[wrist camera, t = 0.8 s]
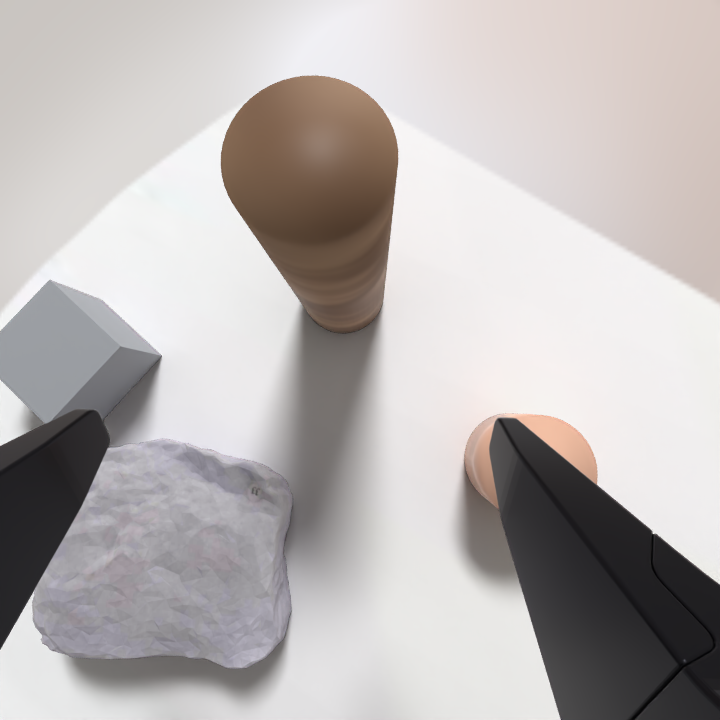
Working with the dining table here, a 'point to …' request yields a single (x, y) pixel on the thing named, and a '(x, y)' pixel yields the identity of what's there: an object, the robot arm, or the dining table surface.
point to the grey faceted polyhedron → (71, 354)
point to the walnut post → (317, 192)
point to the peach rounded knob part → (544, 427)
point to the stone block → (171, 560)
